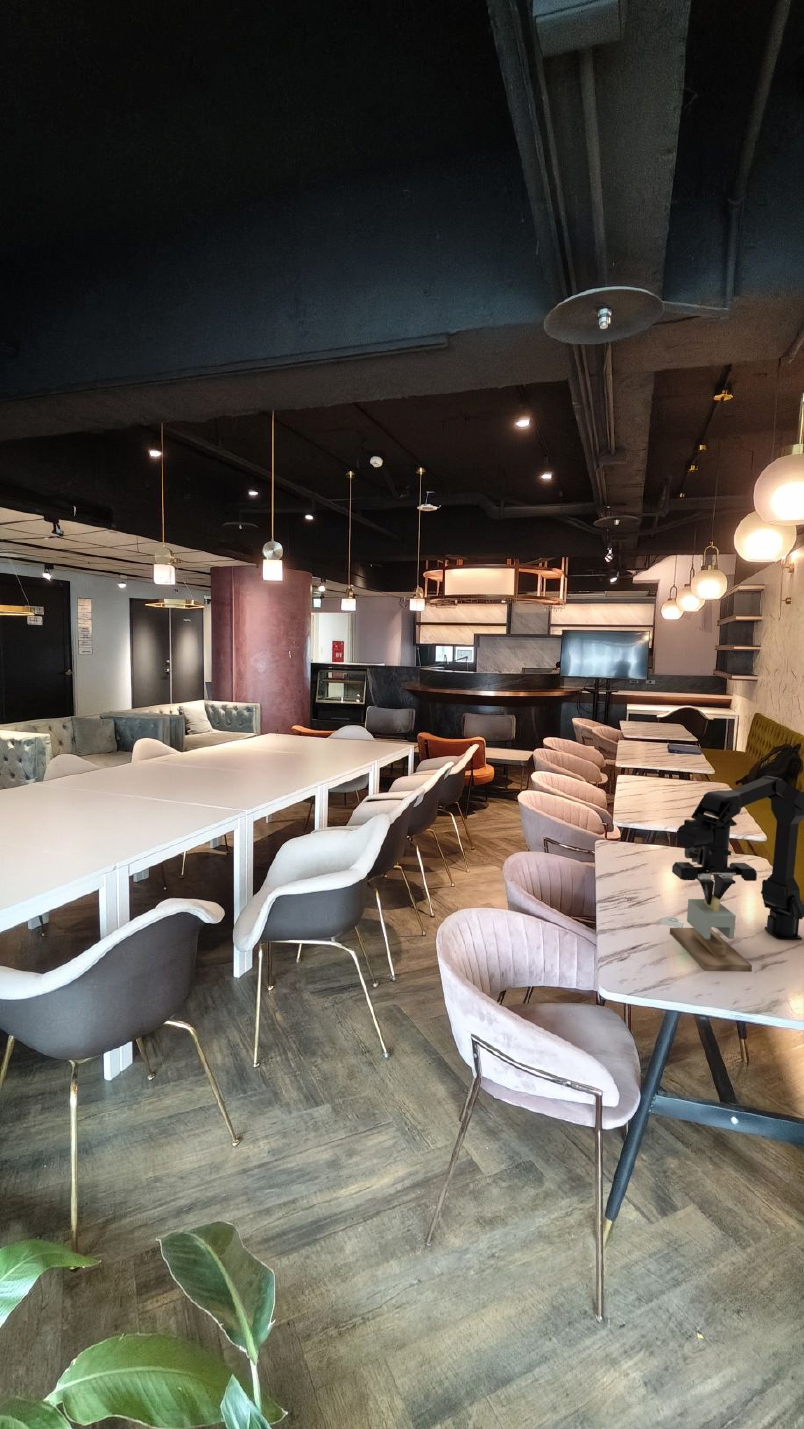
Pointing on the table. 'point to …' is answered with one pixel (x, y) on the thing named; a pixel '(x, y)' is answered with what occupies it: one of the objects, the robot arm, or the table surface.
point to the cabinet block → (710, 917)
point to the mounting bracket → (672, 922)
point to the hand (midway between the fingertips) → (711, 904)
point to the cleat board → (710, 951)
